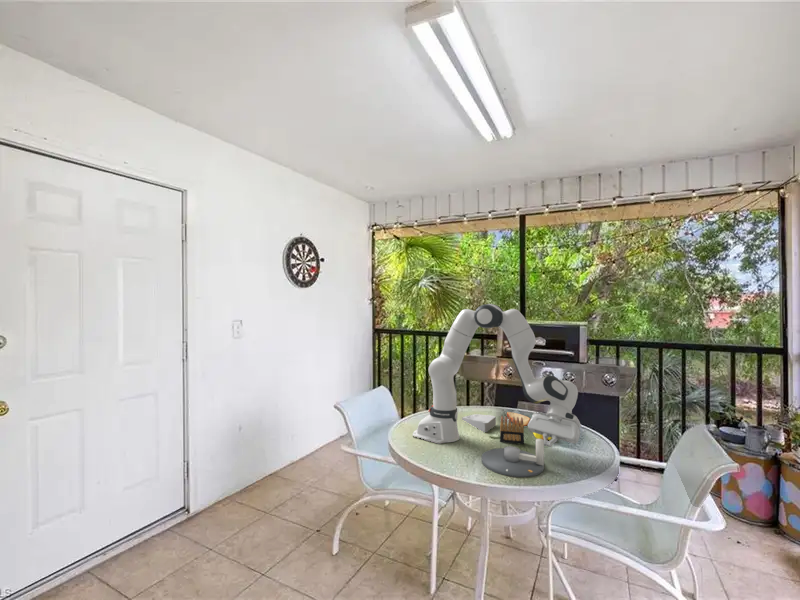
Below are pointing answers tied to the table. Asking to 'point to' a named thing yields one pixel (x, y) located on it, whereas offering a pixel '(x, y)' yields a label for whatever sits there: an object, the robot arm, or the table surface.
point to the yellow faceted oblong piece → (540, 436)
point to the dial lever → (514, 454)
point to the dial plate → (510, 464)
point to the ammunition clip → (512, 431)
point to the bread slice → (515, 415)
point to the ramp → (481, 421)
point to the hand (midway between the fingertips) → (546, 445)
